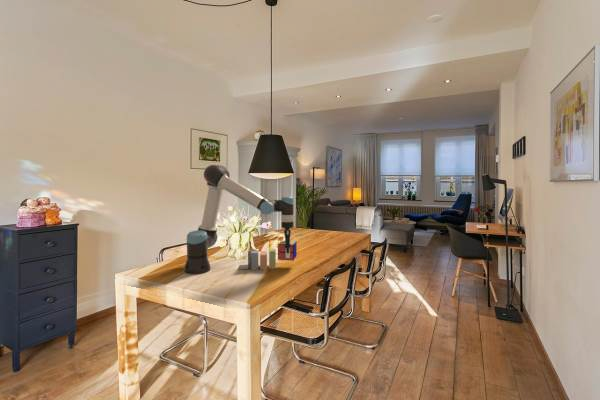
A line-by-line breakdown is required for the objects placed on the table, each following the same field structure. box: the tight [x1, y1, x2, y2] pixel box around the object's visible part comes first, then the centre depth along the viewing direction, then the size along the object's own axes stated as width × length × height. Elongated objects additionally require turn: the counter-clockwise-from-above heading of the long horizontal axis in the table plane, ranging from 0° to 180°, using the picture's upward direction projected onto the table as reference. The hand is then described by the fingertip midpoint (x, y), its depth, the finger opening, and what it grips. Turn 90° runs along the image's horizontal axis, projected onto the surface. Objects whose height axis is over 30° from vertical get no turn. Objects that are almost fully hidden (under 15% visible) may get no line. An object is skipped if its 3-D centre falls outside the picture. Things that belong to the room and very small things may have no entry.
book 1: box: [250, 250, 259, 270], centre depth 202 cm, size 4×7×10 cm, turn 4°
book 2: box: [259, 251, 268, 270], centre depth 202 cm, size 4×8×9 cm, turn 4°
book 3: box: [268, 248, 277, 270], centre depth 203 cm, size 4×7×11 cm, turn 4°
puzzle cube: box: [277, 240, 298, 261], centre depth 203 cm, size 10×10×10 cm
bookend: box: [237, 248, 252, 271], centre depth 201 cm, size 7×9×11 cm
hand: (287, 255), depth 203 cm, fingers closed on puzzle cube, 11 cm apart
